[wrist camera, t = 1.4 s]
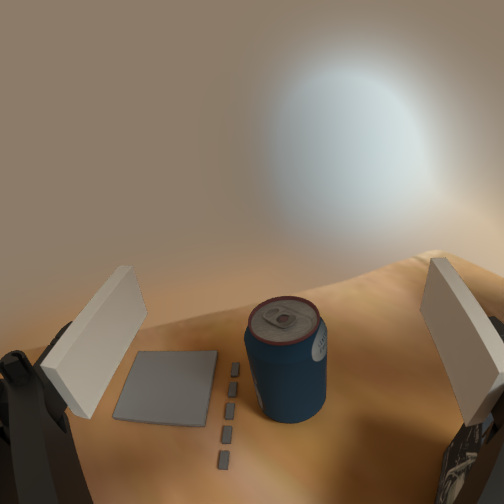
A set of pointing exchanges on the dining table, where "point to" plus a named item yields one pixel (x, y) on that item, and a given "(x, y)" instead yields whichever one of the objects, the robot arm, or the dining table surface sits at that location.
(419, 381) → the dining table surface
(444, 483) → the box
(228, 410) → the perforation line
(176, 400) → the slate pad
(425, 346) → the dining table surface
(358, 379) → the dining table surface
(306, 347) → the soda can
